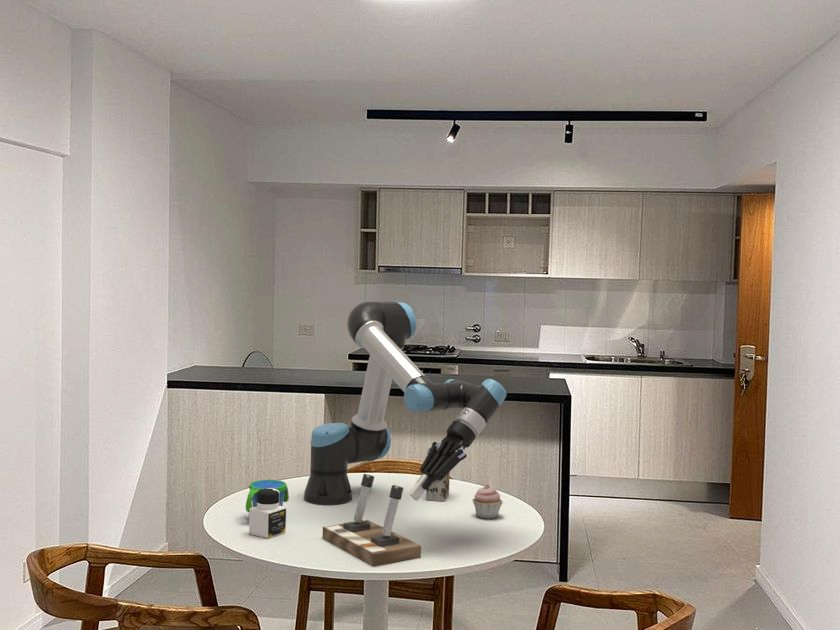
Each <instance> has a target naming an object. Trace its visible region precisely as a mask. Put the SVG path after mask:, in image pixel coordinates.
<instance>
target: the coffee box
mask: <svg viewBox="0 0 840 630" xmlns="http://www.w3.org/2000/svg"><path fill="white" fill-rule="evenodd" d="M430 450H431V447H429V448H428V449H427V453H426V455H428V453H429V452H430ZM450 473H451V471H450V472H449V473H448V474H447V475H446V476H445V477H444V478H443V479H442V480H441V481H439V480H436V481H433V483H432V484H431V485H430V487H429V488H428V489H427V490H426V491H425V501H435V502H436V501H437V502H445V501H446V499H447V498H448V497H449V495H450V475H451V474H450Z"/></svg>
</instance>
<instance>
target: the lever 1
mask: <svg viewBox="0 0 840 630" xmlns="http://www.w3.org/2000/svg"><path fill="white" fill-rule="evenodd" d="M361 479H362V480H361V483H360V486H361V489H360V493H359V497H358V501H357V504H356V509H355V513H354V517H353V522H354V521H356V522H362V520H363V517H364V514H365V509H366V506H367V501H368V498H369V494H370V490H371V489H372V487H373V483H374V482H375V481H374V479H375V476H374V475H372V474H367V473H363V475H362V478H361Z"/></svg>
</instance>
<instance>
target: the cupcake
mask: <svg viewBox="0 0 840 630" xmlns="http://www.w3.org/2000/svg"><path fill="white" fill-rule="evenodd" d="M471 500H472V504H473V505H474V511H475V515H476V517H478V518H479V519H485V520H493V519H496V518H498V516H499V513H500V509H501V507H502V504H503V503H504V501H503V500H502V499H501V494H500V493H499V492H498V491H497V489H496V487H495V486H493V485H492V484H490V483H486V484H484V485H483V487H480V488H478V490H477V492H476V493H475V495H474V497H473V498H472V499H471Z"/></svg>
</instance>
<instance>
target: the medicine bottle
mask: <svg viewBox="0 0 840 630" xmlns="http://www.w3.org/2000/svg"><path fill="white" fill-rule="evenodd" d="M279 498H280V492H279V491H278V490H276V489H273V488H265V489H261V490H259V491H258V492H257V505H258V506H256V507H253V506H252V508H250V513H249V524H248V526H249V527H248V534H249V535H251V536H252V535H253V536H256V537H261V538H264V539H271V538H274V537H277V536H280V535H282V534H285V533H286V530H287V529H286V527H287V525H286V524H287V507H286V506H284V505H283V506H278V505H279Z"/></svg>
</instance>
